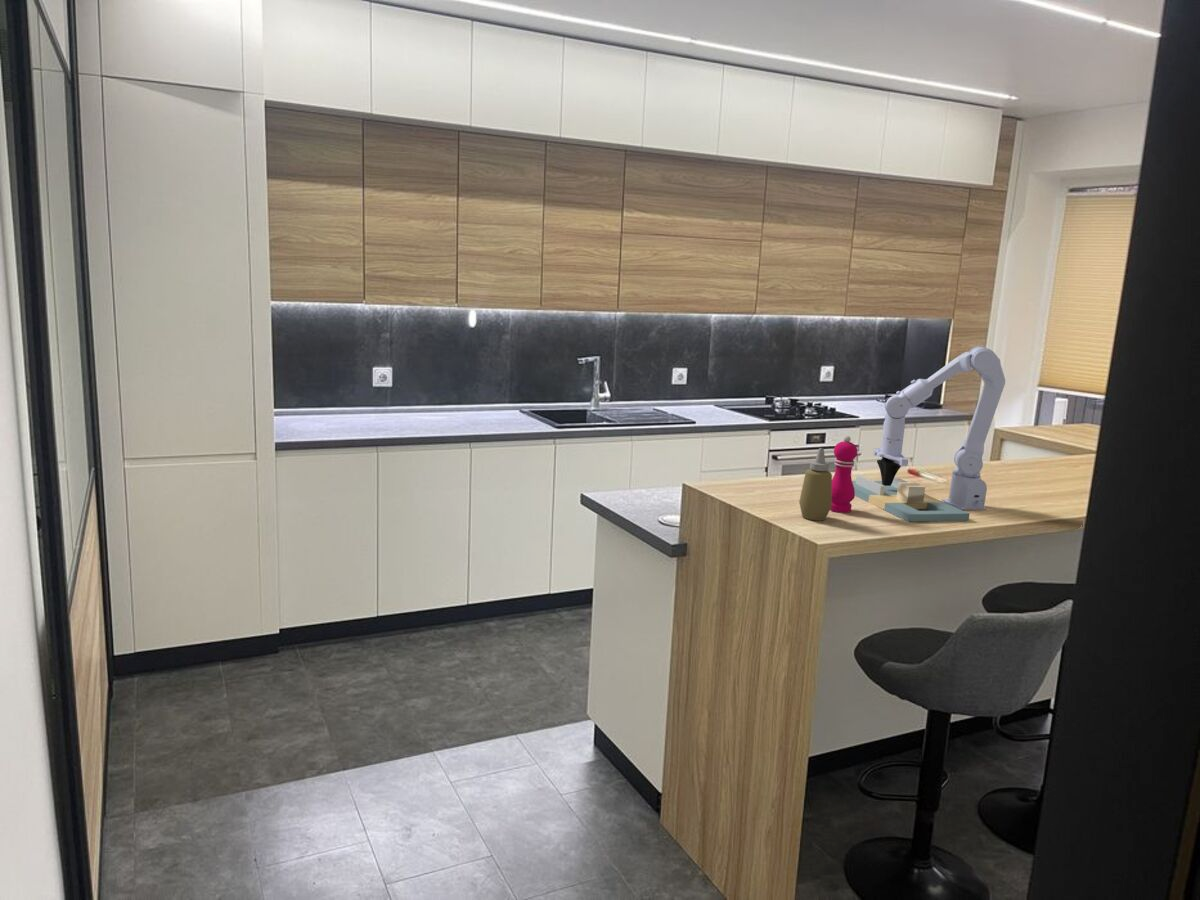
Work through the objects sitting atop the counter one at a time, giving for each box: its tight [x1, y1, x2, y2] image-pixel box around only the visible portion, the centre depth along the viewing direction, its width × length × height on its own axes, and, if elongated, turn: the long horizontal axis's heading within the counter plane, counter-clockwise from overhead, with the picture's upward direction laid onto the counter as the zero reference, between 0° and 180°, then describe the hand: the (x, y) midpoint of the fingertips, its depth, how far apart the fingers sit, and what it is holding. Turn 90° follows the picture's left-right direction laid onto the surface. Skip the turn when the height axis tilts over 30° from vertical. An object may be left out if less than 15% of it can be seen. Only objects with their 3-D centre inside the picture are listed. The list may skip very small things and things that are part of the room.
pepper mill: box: [830, 435, 858, 514], centre depth 229 cm, size 7×7×20 cm
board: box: [852, 474, 970, 522], centre depth 241 cm, size 35×18×4 cm, turn 14°
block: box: [897, 481, 926, 503], centre depth 236 cm, size 5×5×4 cm
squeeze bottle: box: [798, 447, 833, 521], centre depth 219 cm, size 8×8×18 cm
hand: (886, 485), depth 248 cm, fingers closed
